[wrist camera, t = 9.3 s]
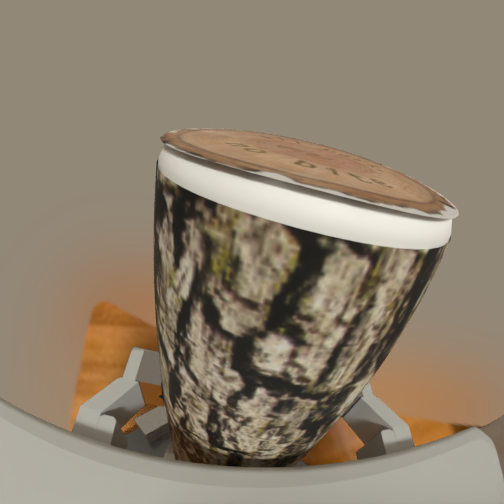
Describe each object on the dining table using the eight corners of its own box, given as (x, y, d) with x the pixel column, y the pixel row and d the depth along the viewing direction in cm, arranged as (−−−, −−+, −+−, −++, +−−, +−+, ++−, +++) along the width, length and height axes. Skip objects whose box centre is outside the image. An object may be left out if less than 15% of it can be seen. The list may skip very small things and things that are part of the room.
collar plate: (317, 477, 22) (330, 468, 20) (218, 561, 12) (221, 564, 10) (213, 388, 30) (216, 372, 29) (112, 445, 21) (104, 433, 19)
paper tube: (210, 435, 22) (261, 129, 10) (273, 472, 19) (442, 188, 7) (163, 482, 17) (93, 135, 5) (230, 526, 14) (498, 276, 2)
